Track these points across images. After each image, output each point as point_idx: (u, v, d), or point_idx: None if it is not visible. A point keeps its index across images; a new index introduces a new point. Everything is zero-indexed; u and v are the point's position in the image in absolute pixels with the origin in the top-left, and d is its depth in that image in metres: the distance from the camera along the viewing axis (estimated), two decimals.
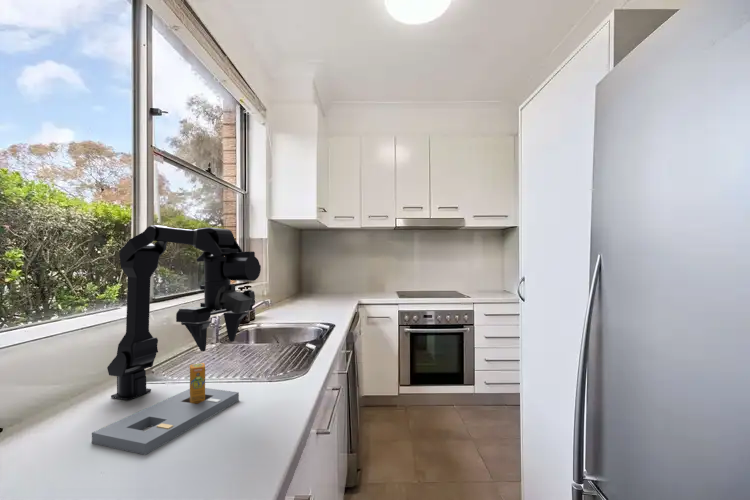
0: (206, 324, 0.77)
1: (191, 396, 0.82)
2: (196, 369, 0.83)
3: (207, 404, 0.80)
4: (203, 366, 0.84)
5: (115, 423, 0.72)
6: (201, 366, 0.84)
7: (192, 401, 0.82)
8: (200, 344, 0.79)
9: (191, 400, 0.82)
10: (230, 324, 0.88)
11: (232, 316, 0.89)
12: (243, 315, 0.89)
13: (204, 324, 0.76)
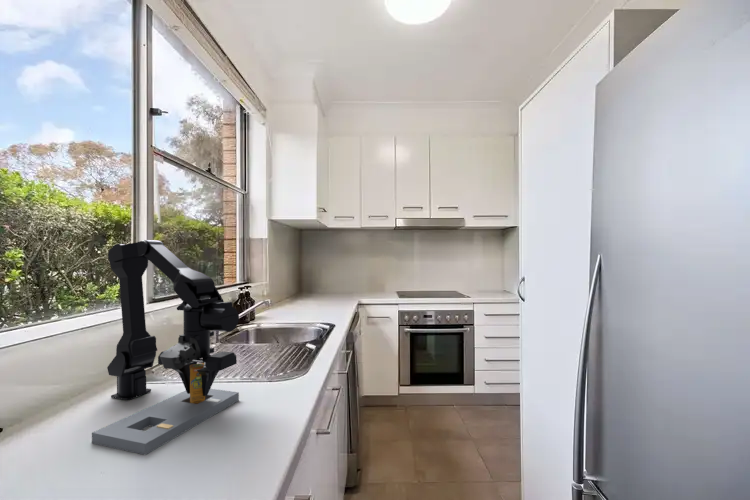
0: None
1: (191, 396, 0.82)
2: (196, 369, 0.83)
3: (207, 404, 0.80)
4: (203, 366, 0.84)
5: (115, 423, 0.72)
6: (201, 366, 0.84)
7: (192, 401, 0.82)
8: None
9: (191, 400, 0.82)
10: None
11: None
12: (200, 372, 0.81)
13: (172, 368, 0.83)
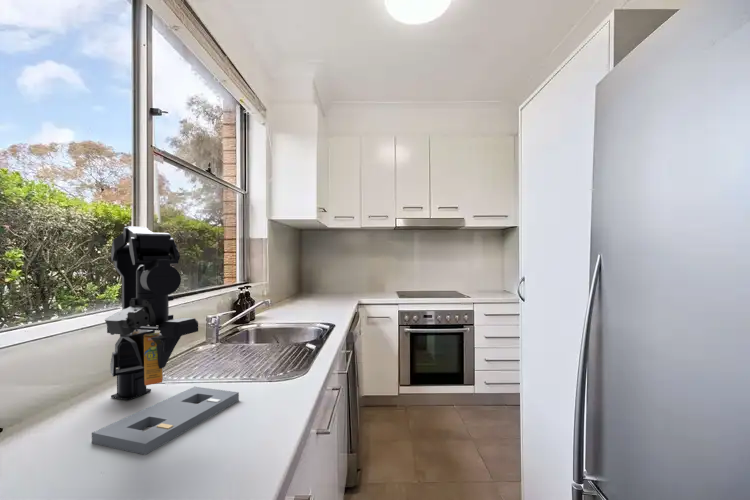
0: (126, 338, 0.72)
1: (145, 369, 0.71)
2: (150, 337, 0.72)
3: (207, 404, 0.80)
4: None
5: (115, 423, 0.72)
6: (157, 335, 0.73)
7: (146, 375, 0.71)
8: None
9: (145, 374, 0.71)
10: None
11: None
12: (155, 340, 0.70)
13: (123, 337, 0.72)
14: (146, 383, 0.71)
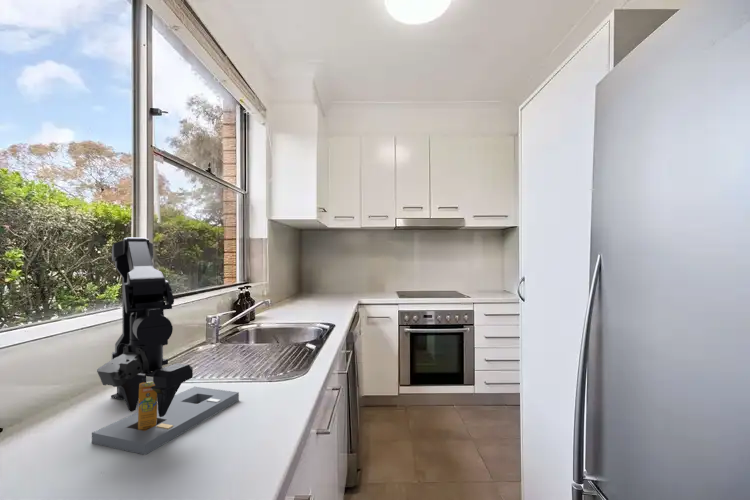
0: None
1: (139, 421, 0.70)
2: (146, 388, 0.71)
3: (207, 404, 0.80)
4: None
5: (115, 423, 0.72)
6: (152, 385, 0.71)
7: (140, 427, 0.70)
8: None
9: (139, 425, 0.70)
10: None
11: None
12: (155, 389, 0.68)
13: None
14: None
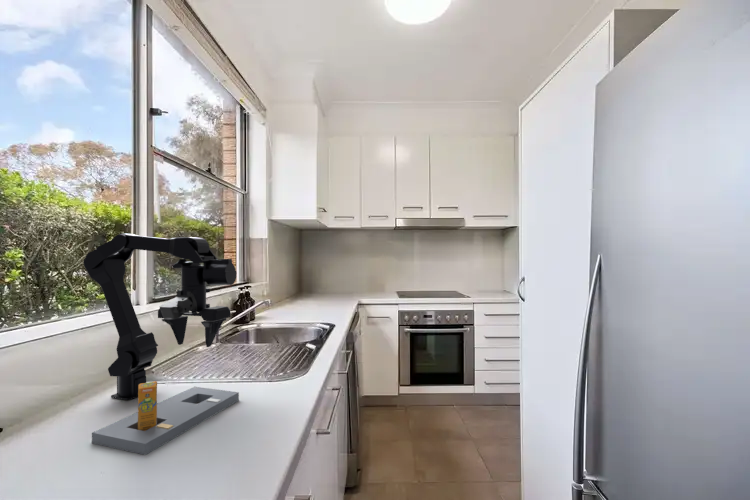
0: (167, 321, 0.91)
1: (139, 421, 0.70)
2: (145, 389, 0.70)
3: (207, 404, 0.80)
4: (154, 385, 0.72)
5: (115, 423, 0.72)
6: (152, 386, 0.71)
7: (140, 427, 0.70)
8: None
9: (139, 426, 0.70)
10: None
11: None
12: (204, 323, 0.87)
13: (164, 321, 0.91)
14: None
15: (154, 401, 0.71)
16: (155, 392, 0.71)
